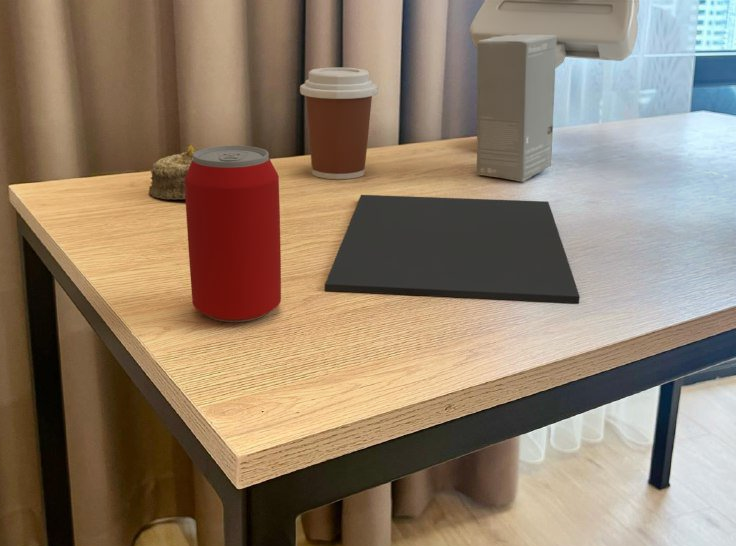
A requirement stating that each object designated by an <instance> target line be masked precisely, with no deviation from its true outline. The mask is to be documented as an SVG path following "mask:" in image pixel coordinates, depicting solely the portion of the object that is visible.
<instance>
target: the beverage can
mask: <svg viewBox="0 0 736 546" xmlns="http://www.w3.org/2000/svg"><path fill="white" fill-rule="evenodd" d="M279 177H280V176H279V174H278V171H277V170H276V168H275V166H274V165H273V162H272V161H271V159H270V157H269V151H268V150H266V149H264V148H262V147H256V146H250V145H217V146H209V147H205V148H201V149H198V150H196V151H195V152H194V153H193V160H192V162H191V164H190V166H189V169H188V171H187V173H186V175H185V197H186V199H185V213H186V233H187V245H188V246H187V248H188V258H189V259H188V261H189V276H190V277H189V278H190V289H191V290H190V291H191V302H192V306H193V307H194V308H195V309H196V311H198V312H200V313H202V314H204V315H206V316H207V317H208V318H210V319H212V320H215V321H219V322H224V323H245V322H252V321H255V320H259V319H261V318H263V317H265V316H266V315H268V314H269V313H270V312H271V311H273V310H274V309H276V308H277V307H278V306H279V305H280V304H281V302H282V255H281V252H282V251H281V250H282V249H281V209H280V208H281V206H280V182H279V181H280V178H279Z"/></svg>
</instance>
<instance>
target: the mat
mask: <svg viewBox="0 0 736 546" xmlns="http://www.w3.org/2000/svg"><path fill="white" fill-rule="evenodd" d="M352 213H353V214H352V216H351V219H350V221H349V224H348V226H347V228H346V231H345V233H344V236H343V238H342V241H341V243H340V246H339V248H338V250H337V253H336V256H335V257H334V261H333V263H332V266H331V268H330V270H329V272H328V275H327V278H326V280H325V283H324V291H326V292H342V293H343V292H344V293H363V294H364V293H366V294H369V293H370V294H386V295H405V296H407V295H408V296H425V297H426V296H427V297H430V296H431V297H445V298H446V297H447V298H465V299H485V300H486V299H488V300H505V301H506V300H507V301H508V300H509V301H528V302H550V303H567V304H568V303H570V304H579V303H580V297H581V296H580V294H579V291H578V288H577V284H576V281H575V278H574V275H573V272H572V268H571V266H570V263H569V260H568V257H567V253H566V251H565V248H564V245H563V243H562V238H561V235H560V233H559V230H558V226H557V224H556V221H555V217H554V215H553V212H552V208H551V205H550V202H549V201H545V200H540V201H539V200H517V199H493V198H492V199H488V198H487V199H486V198H465V197H464V198H462V197H461V198H460V197H438V196H437V197H435V196H408V195H407V196H405V195H384V194H383V195H380V194H379V195H378V194H377V195H376V194H360V196H359V198H358V201H357V204H356V206H355V208H354V211H353V212H352Z"/></svg>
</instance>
